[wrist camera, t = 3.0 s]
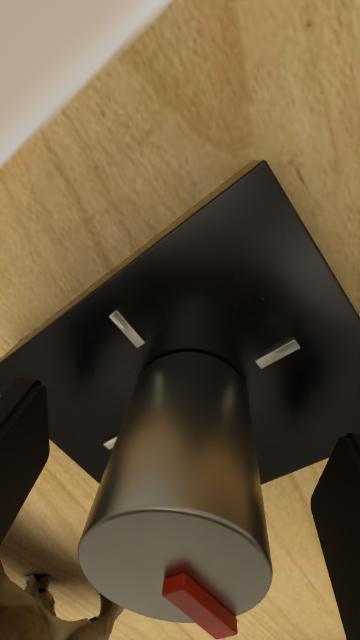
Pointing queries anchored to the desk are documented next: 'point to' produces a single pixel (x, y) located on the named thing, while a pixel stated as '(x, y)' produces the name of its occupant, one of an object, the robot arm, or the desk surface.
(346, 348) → the dial panel
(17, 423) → the robot arm
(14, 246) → the desk surface
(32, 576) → the rhinoceros figurine
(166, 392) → the dial
